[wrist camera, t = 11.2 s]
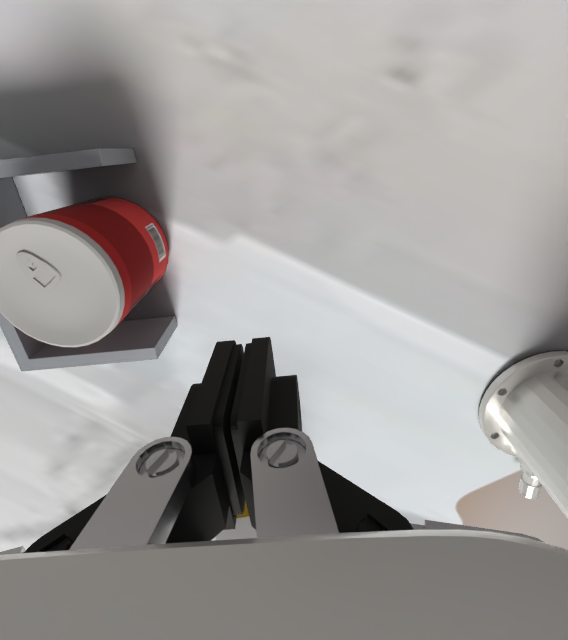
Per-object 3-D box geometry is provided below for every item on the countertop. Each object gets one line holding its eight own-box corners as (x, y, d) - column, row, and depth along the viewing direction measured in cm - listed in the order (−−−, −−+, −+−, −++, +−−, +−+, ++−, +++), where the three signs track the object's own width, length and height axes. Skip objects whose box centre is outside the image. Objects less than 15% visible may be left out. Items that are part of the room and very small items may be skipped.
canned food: (98, 175, 29) (2, 189, 19) (188, 234, 31) (144, 275, 21) (62, 254, 32) (-40, 302, 22) (147, 304, 34) (90, 369, 24)
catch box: (177, 325, 35) (157, 358, 29) (62, 336, 35) (21, 371, 30) (133, 148, 28) (97, 148, 23) (-6, 164, 29) (-74, 168, 23)
